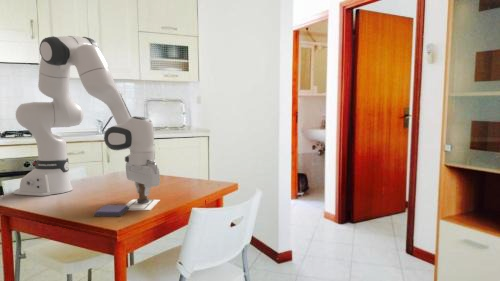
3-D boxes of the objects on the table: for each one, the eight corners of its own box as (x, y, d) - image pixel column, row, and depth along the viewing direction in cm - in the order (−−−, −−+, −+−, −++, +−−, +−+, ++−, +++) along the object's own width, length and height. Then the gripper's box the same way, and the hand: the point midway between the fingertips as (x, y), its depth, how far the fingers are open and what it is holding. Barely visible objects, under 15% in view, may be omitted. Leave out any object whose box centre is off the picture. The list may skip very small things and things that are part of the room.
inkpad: (93, 216, 120) (93, 211, 120) (104, 208, 129) (104, 204, 129) (120, 216, 120) (120, 212, 120) (129, 209, 129) (129, 204, 129)
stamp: (137, 203, 135) (136, 180, 134) (137, 200, 139) (137, 178, 138) (149, 203, 136) (148, 180, 135) (149, 200, 140) (148, 177, 139)
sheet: (119, 210, 127) (119, 209, 127) (132, 200, 141) (132, 199, 141) (150, 210, 127) (150, 209, 127) (160, 200, 141) (160, 199, 141)
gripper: (164, 161, 131) (164, 197, 132) (137, 155, 145) (137, 188, 147) (148, 163, 126) (149, 200, 128) (122, 156, 141) (123, 191, 142)
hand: (143, 194), depth 137 cm, fingers closed on stamp, 4 cm apart
